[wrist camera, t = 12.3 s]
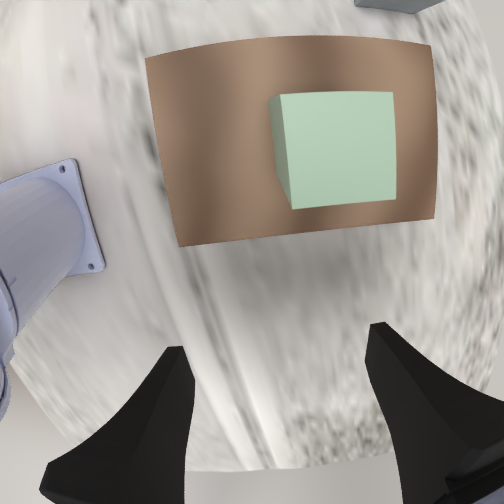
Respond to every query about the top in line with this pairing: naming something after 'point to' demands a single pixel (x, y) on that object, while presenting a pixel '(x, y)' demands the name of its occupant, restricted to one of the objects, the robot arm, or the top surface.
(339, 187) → the sage block
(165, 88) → the walnut board
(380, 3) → the slate block
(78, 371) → the top surface
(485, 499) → the robot arm
